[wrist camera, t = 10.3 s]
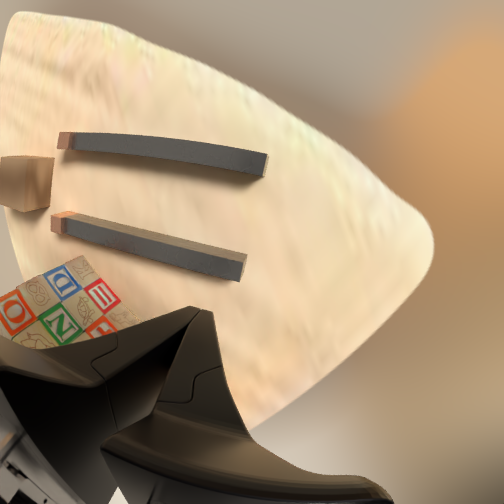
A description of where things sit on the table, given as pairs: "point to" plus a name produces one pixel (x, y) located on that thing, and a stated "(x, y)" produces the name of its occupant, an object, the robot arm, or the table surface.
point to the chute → (148, 241)
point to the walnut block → (26, 182)
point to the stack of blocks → (62, 308)
